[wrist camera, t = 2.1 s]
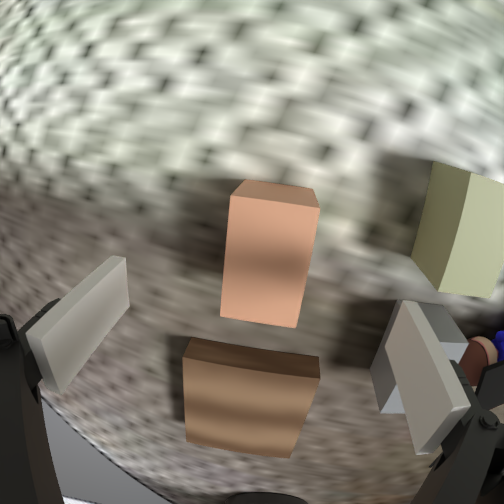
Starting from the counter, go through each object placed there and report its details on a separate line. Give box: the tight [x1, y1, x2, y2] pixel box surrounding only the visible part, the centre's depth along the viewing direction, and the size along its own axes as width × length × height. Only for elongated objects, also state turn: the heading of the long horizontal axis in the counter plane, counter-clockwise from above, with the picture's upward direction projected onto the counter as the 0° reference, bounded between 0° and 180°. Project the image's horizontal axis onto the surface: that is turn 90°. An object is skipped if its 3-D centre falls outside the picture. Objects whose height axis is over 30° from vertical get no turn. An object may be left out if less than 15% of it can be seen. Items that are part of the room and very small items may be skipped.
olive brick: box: [411, 161, 504, 298], centre depth 19 cm, size 8×5×6 cm, turn 174°
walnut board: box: [183, 337, 320, 458], centre depth 30 cm, size 14×12×3 cm
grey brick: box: [370, 300, 469, 413], centre depth 24 cm, size 8×5×6 cm, turn 173°
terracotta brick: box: [220, 179, 320, 328], centre depth 22 cm, size 8×5×6 cm, turn 173°
